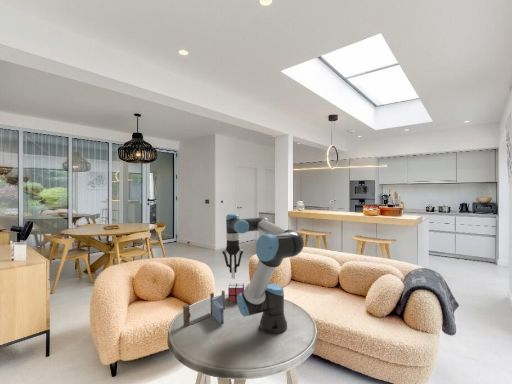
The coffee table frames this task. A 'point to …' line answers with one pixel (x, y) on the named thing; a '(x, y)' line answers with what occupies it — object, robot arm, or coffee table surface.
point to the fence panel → (221, 299)
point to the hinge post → (211, 301)
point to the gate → (217, 311)
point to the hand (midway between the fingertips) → (233, 277)
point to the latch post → (186, 315)
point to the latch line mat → (200, 319)
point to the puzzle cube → (235, 291)
